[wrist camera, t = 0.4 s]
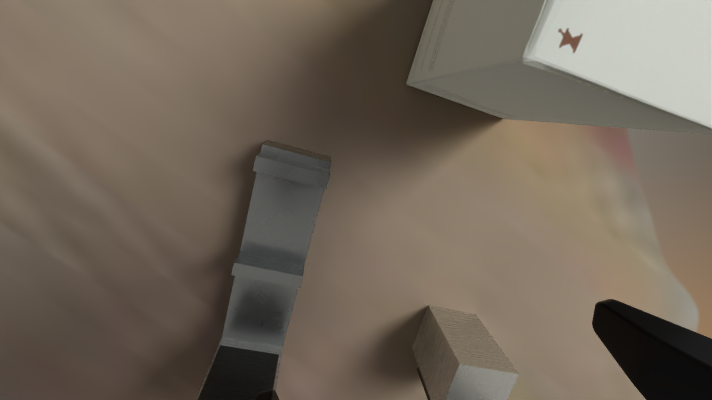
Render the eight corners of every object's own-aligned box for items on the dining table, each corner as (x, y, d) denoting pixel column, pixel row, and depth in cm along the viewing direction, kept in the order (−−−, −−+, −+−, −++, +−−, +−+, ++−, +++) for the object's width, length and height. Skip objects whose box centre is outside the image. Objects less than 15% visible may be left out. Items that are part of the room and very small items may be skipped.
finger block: (455, 362, 27) (491, 432, 22) (409, 354, 27) (434, 424, 21) (475, 314, 26) (519, 374, 20) (428, 305, 25) (459, 364, 20)
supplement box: (506, 122, 22) (730, 147, 10) (402, 84, 21) (514, 62, 9) (557, 2, 20) (902, -142, 8) (446, -47, 19) (665, -304, 7)
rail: (271, 381, 26) (250, 498, 18) (218, 374, 25) (173, 492, 18) (330, 156, 22) (335, 187, 14) (267, 140, 21) (236, 163, 13)
